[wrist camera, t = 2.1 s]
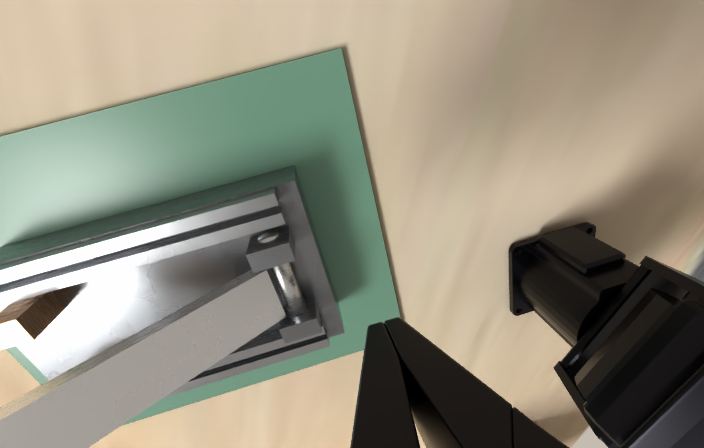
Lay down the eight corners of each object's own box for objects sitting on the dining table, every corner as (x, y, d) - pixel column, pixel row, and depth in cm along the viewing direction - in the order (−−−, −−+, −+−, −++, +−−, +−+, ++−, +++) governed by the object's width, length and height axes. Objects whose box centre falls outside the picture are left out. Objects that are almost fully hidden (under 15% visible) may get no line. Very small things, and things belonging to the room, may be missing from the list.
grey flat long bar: (279, 309, 18) (286, 316, 17) (4, 486, 12) (-1, 505, 11) (260, 264, 16) (266, 269, 16) (-59, 439, 11) (-68, 458, 10)
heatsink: (338, 302, 22) (350, 361, 18) (107, 372, 22) (56, 453, 17) (294, 165, 18) (295, 195, 13) (2, 245, 17) (-105, 308, 13)
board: (403, 333, 25) (404, 337, 25) (93, 429, 24) (90, 435, 24) (340, 48, 17) (341, 47, 16) (-152, 176, 15) (-163, 178, 15)
